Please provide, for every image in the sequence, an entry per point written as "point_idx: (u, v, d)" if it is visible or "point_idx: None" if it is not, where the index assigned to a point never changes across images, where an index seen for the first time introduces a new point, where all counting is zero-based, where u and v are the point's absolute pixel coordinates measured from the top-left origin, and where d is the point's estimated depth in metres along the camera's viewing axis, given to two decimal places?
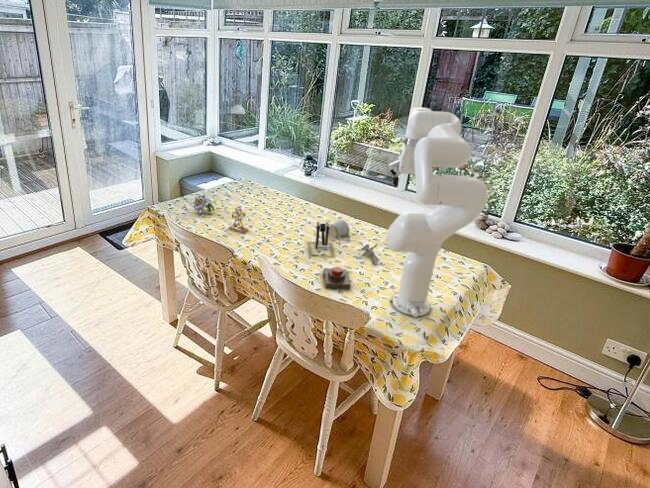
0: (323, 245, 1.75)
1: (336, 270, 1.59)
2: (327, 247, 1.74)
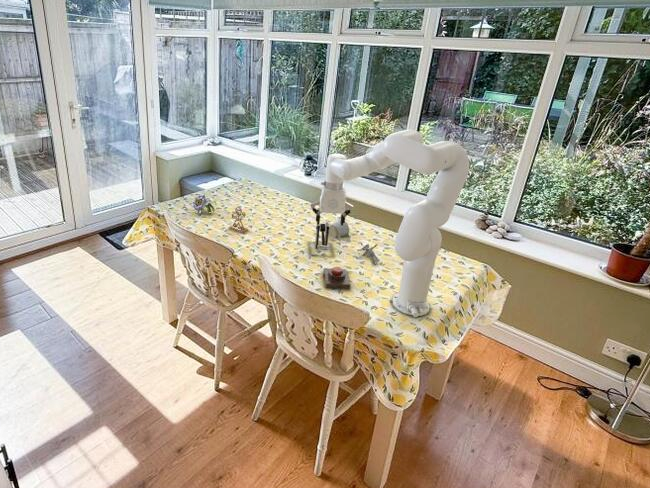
0: (323, 245, 1.75)
1: (336, 270, 1.59)
2: (327, 247, 1.74)
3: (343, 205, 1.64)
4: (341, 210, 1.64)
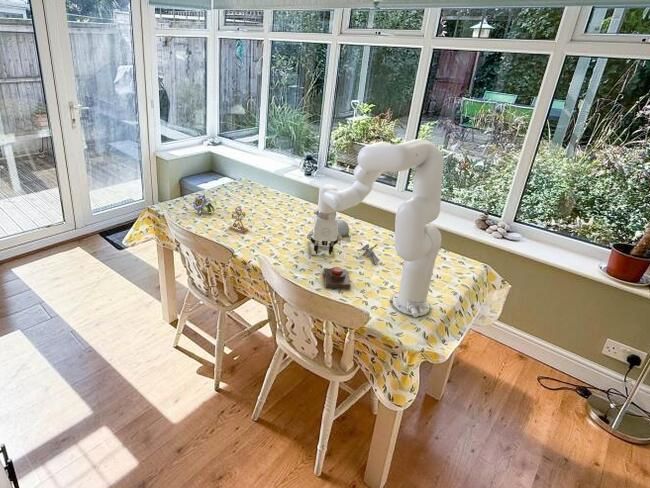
0: (323, 245, 1.75)
1: (336, 270, 1.59)
2: (327, 247, 1.74)
3: (335, 233, 1.69)
4: (334, 238, 1.70)
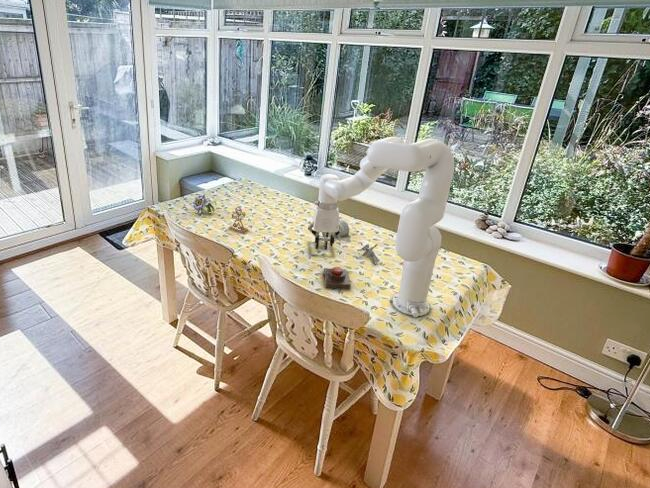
0: (324, 237, 1.72)
1: (336, 270, 1.59)
2: (328, 239, 1.71)
3: (337, 224, 1.66)
4: (335, 229, 1.67)
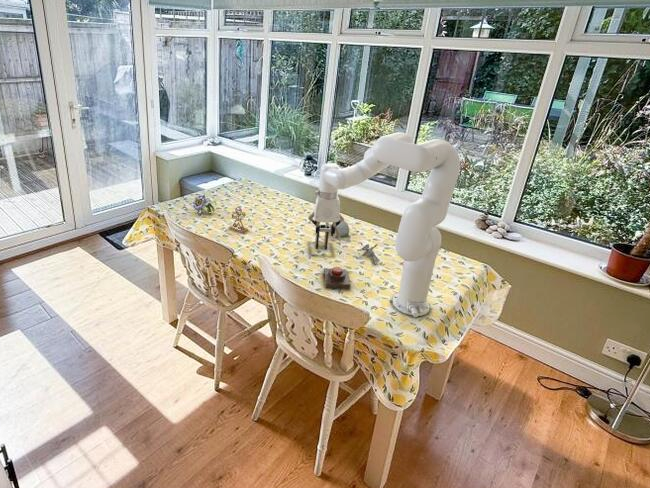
0: None
1: (336, 270, 1.59)
2: (329, 229, 1.70)
3: (338, 214, 1.65)
4: (336, 219, 1.66)
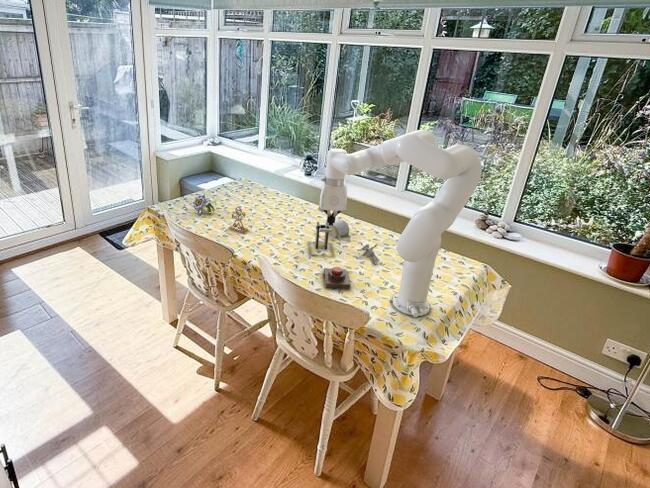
0: (325, 228, 1.71)
1: (336, 270, 1.59)
2: (329, 229, 1.70)
3: (344, 202, 1.58)
4: (342, 207, 1.58)
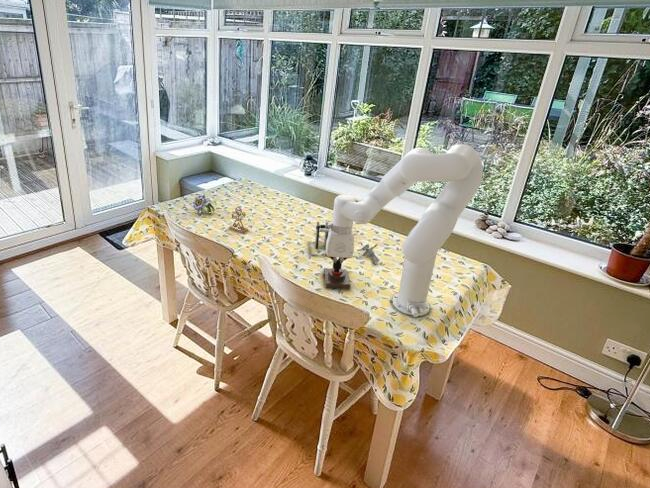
0: (325, 228, 1.71)
1: (336, 271, 1.59)
2: (329, 229, 1.70)
3: (351, 249, 1.53)
4: (349, 254, 1.54)
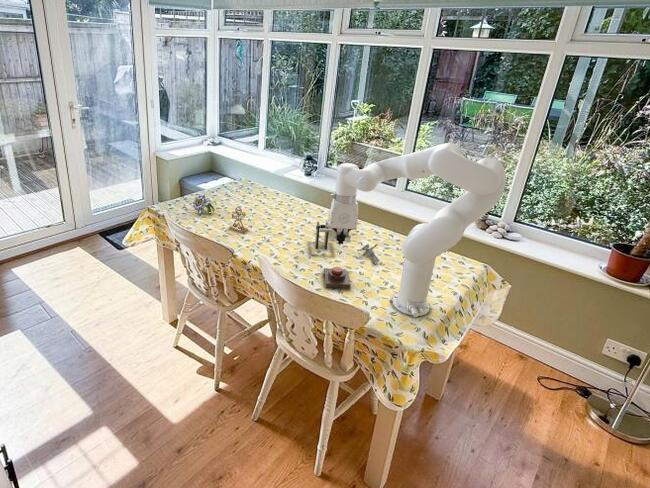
0: (325, 228, 1.71)
1: (336, 270, 1.59)
2: (329, 229, 1.70)
3: (355, 220, 1.48)
4: (353, 225, 1.49)
